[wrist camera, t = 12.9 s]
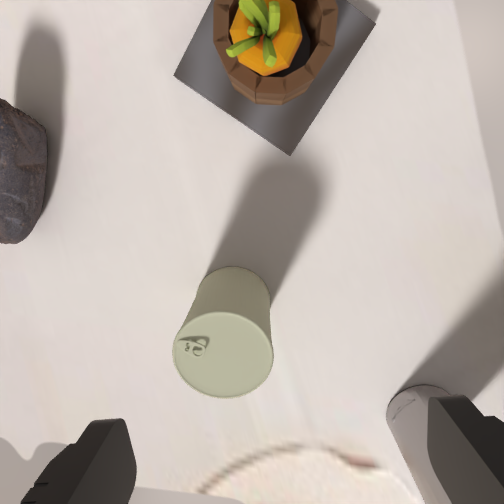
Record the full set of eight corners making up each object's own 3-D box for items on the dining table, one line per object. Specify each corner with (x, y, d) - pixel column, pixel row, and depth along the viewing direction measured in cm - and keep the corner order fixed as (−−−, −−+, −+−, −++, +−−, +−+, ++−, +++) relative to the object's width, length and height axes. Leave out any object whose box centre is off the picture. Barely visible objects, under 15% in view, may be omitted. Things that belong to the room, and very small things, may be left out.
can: (208, 256, 38) (185, 299, 26) (281, 280, 39) (289, 332, 27) (187, 321, 41) (158, 386, 29) (256, 343, 41) (254, 415, 30)
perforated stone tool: (51, 242, 38) (7, 260, 31) (7, 231, 38) (-47, 247, 31) (61, 110, 34) (12, 98, 27) (12, 97, 34) (-50, 82, 27)
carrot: (298, 81, 31) (296, 75, 18) (248, 77, 32) (211, 68, 19) (305, 20, 29) (310, -39, 16) (252, 17, 30) (212, -44, 16)
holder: (371, 28, 31) (403, -9, 24) (289, 155, 34) (296, 155, 28) (250, -66, 29) (247, -136, 22) (176, 78, 33) (153, 57, 26)
